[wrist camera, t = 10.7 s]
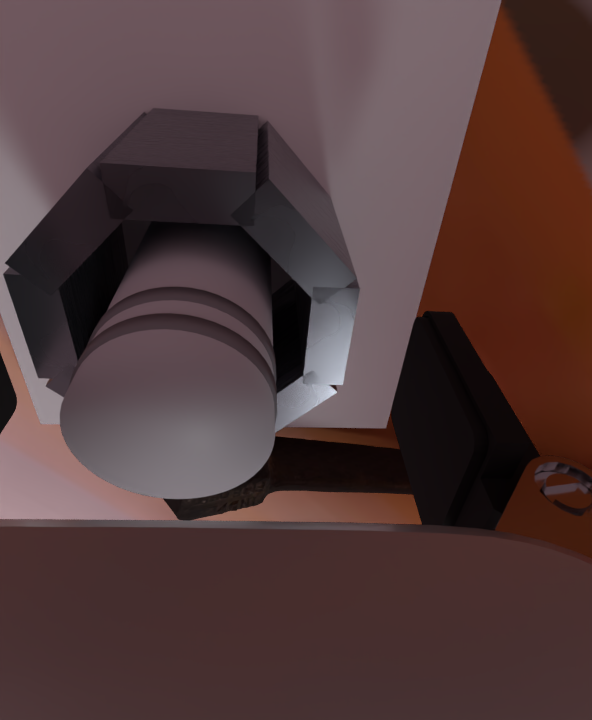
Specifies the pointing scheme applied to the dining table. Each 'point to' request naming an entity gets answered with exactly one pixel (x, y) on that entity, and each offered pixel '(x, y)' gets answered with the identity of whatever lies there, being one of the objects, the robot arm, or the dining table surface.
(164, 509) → the dining table surface
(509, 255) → the dining table surface
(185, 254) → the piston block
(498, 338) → the dining table surface
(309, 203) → the steel ring
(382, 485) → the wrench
